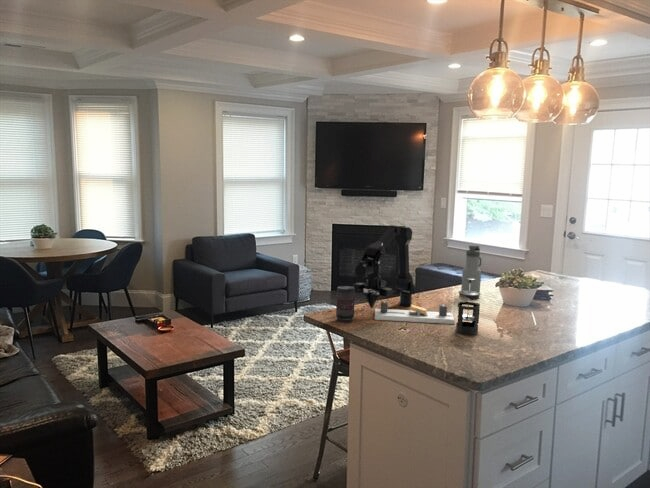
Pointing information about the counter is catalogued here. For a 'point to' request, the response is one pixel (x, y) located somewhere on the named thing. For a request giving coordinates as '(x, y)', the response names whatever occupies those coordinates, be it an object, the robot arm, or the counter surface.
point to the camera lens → (345, 304)
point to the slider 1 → (384, 306)
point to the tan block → (415, 308)
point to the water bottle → (472, 270)
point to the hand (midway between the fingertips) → (371, 307)
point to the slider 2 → (443, 310)
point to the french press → (468, 327)
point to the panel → (414, 316)
